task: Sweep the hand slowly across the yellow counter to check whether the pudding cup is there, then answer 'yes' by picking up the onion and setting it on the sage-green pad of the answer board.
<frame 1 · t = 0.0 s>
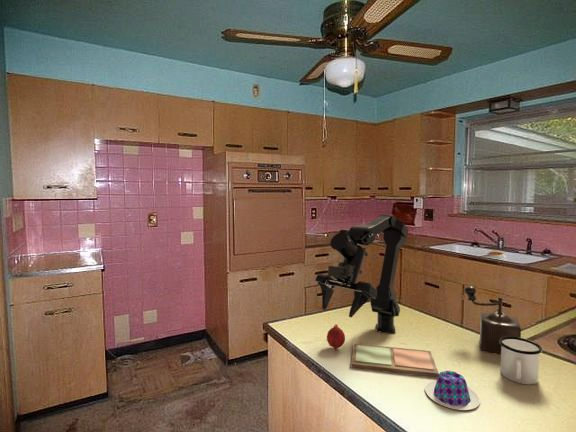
hand: (336, 313, 96), 15 cm above the worktop, tool tilted 35°, fingers open, 9 cm apart
pudding: (451, 397, 81), on the worktop
mug: (518, 379, 88), on the worktop
answer board: (392, 361, 97), on the worktop
brown coffee grinder: (489, 346, 106), on the worktop
onion: (335, 349, 105), on the worktop
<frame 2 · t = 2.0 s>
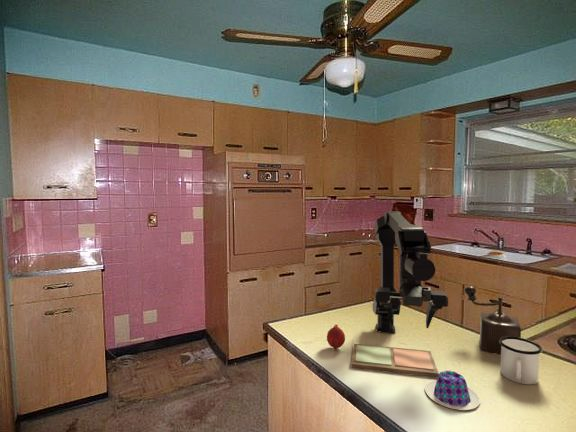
hand: (409, 326, 93), 12 cm above the worktop, tool pointing down, fingers open, 9 cm apart
nothing on the worktop moved.
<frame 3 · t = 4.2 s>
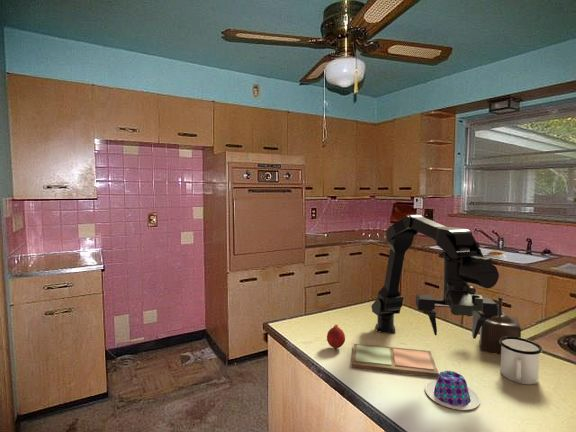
hand: (454, 336, 86), 12 cm above the worktop, tool pointing down, fingers open, 9 cm apart
nothing on the worktop moved.
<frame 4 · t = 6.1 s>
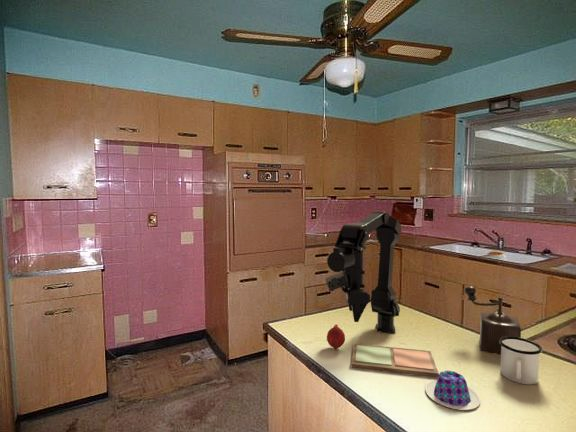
hand: (353, 316, 101), 12 cm above the worktop, tool pointing down, fingers open, 9 cm apart
nothing on the worktop moved.
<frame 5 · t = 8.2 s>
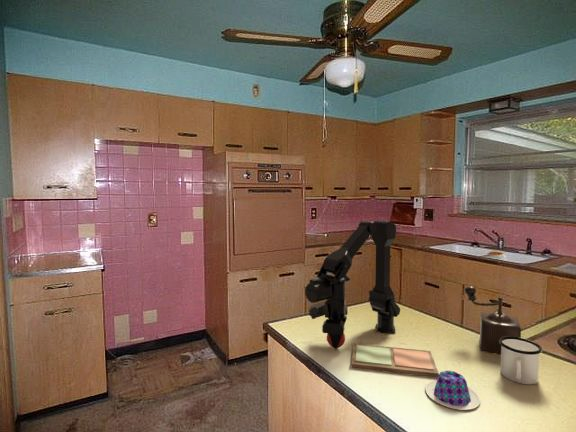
hand: (336, 344, 105), 2 cm above the worktop, tool pointing down, fingers closed on onion, 6 cm apart
onion: (335, 349, 105), on the worktop, touching gripper
everything else where it was.
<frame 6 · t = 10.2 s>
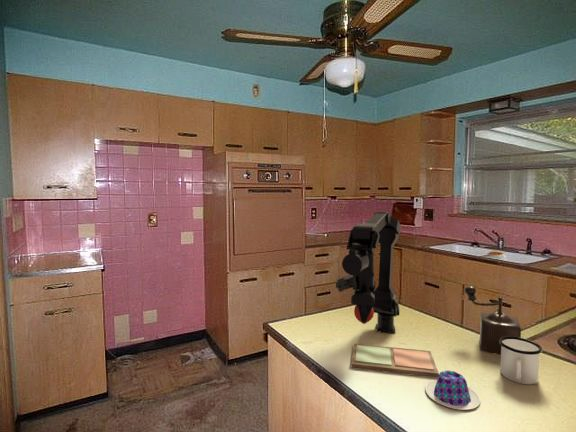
hand: (364, 318, 99), 12 cm above the worktop, tool pointing down, fingers closed on onion, 6 cm apart
onion: (363, 324, 100), point 10 cm above the worktop, touching gripper
everything else where it was.
when the fingers open (4 cm above the worktop, at t = 12.4 s): onion stays where it is, resting on answer board.
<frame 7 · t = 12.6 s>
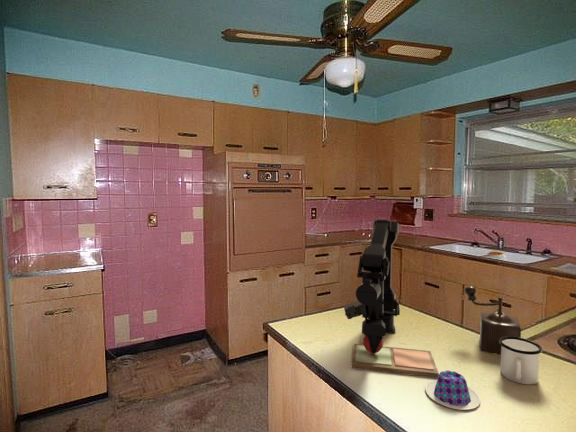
hand: (373, 345, 98), 4 cm above the worktop, tool pointing down, fingers open, 8 cm apart
onion: (373, 354, 99), point 1 cm above the worktop, touching answer board
everything else where it was.
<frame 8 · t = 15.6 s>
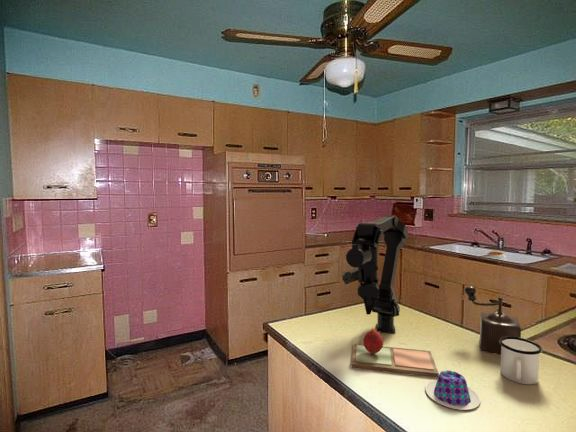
hand: (368, 309, 107), 12 cm above the worktop, tool pointing down, fingers open, 9 cm apart
nothing on the worktop moved.
at the end: onion inside the target area on the answer board (0.1 cm from its centre), point 1.3 cm above the answer board's base; the gripper is holding nothing; pudding moved 0.6 cm from its start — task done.
